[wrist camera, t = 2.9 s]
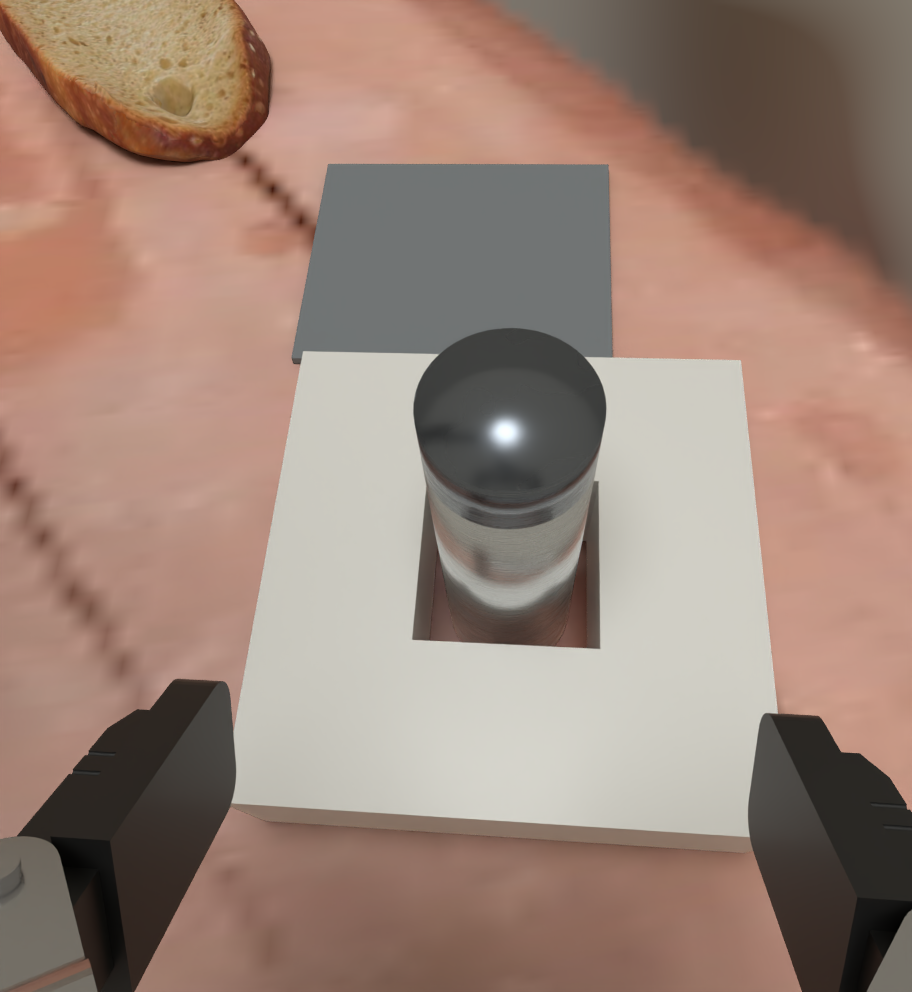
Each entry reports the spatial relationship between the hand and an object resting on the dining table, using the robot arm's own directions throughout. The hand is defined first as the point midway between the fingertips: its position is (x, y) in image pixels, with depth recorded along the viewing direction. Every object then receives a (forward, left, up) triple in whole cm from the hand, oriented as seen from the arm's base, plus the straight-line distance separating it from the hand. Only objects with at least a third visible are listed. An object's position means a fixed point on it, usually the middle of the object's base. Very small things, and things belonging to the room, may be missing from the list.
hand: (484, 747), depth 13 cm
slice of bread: (-23, +40, -18) cm, 50 cm away
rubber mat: (-3, +25, -17) cm, 31 cm away
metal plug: (0, +8, -17) cm, 19 cm away
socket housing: (0, +8, -17) cm, 19 cm away
